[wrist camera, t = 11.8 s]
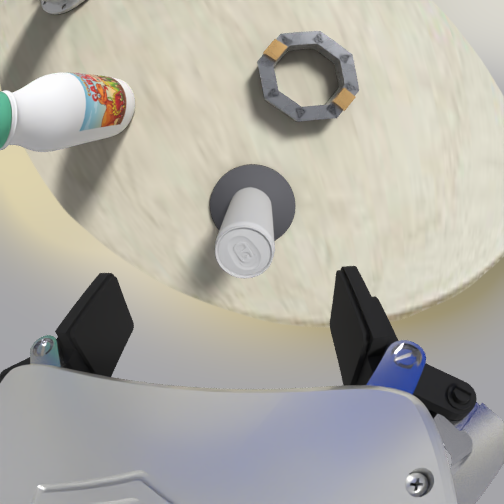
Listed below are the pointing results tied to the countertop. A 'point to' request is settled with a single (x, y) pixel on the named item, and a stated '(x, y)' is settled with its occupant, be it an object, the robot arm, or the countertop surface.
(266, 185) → the slate coaster
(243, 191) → the beverage can
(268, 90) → the ring
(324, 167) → the countertop surface
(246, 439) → the robot arm
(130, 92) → the milk bottle
